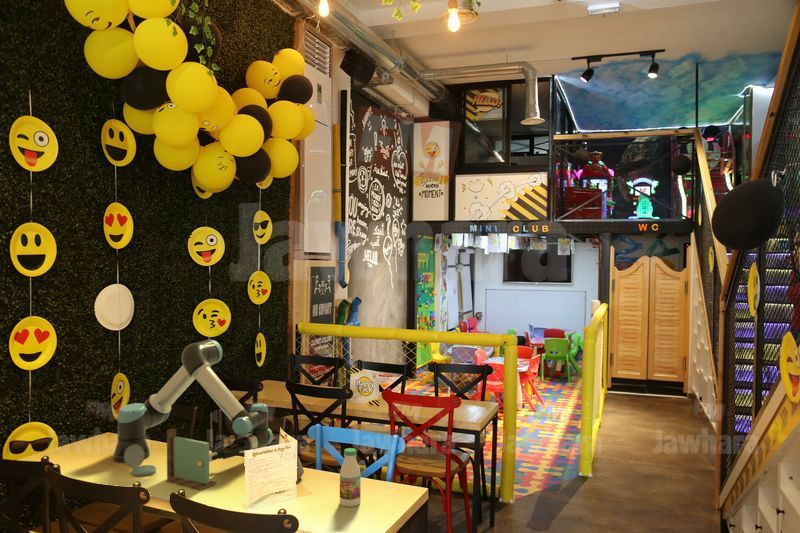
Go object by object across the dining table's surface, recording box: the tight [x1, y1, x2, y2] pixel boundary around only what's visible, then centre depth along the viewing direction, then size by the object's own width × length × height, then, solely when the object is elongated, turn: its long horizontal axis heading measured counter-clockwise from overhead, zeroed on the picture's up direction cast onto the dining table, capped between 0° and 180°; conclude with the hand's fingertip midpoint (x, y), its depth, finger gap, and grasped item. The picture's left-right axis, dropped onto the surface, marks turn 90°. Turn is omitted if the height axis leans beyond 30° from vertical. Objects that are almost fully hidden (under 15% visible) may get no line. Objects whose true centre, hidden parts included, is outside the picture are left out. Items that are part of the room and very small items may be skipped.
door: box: [173, 435, 210, 484], centre depth 244 cm, size 19×4×16 cm, turn 61°
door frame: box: [165, 428, 218, 491], centre depth 245 cm, size 22×8×20 cm, turn 61°
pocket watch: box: [124, 444, 157, 477], centre depth 257 cm, size 10×11×15 cm
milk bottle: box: [339, 447, 362, 508], centre depth 224 cm, size 8×8×20 cm
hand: (204, 460), depth 246 cm, fingers closed
